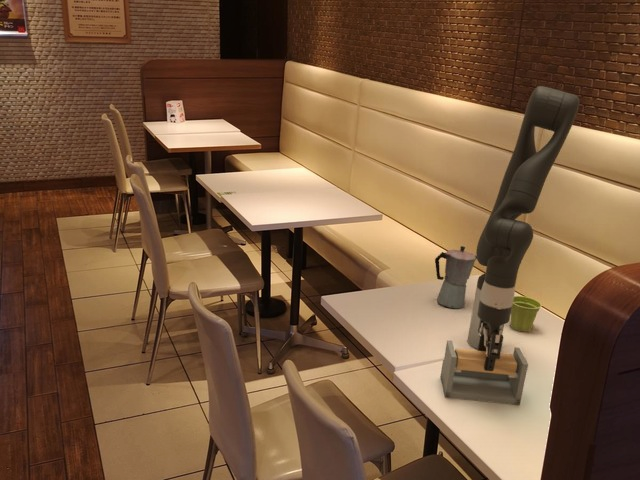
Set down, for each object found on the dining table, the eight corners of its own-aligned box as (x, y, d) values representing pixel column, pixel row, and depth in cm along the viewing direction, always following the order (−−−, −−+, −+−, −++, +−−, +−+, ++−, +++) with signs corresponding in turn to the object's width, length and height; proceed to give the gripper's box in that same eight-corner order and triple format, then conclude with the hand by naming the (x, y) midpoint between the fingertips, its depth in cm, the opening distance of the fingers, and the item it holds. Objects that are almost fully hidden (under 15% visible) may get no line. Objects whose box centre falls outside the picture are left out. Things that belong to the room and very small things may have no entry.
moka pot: (477, 308, 207) (488, 250, 201) (437, 312, 201) (446, 252, 195) (461, 296, 215) (470, 240, 209) (422, 299, 210) (430, 242, 203)
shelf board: (453, 359, 158) (455, 348, 157) (510, 365, 157) (512, 354, 156) (456, 369, 153) (458, 358, 152) (515, 375, 152) (517, 364, 151)
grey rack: (440, 377, 163) (446, 338, 159) (510, 384, 162) (518, 345, 159) (445, 397, 154) (451, 356, 150) (519, 404, 153) (528, 364, 150)
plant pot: (512, 318, 202) (516, 293, 199) (540, 328, 196) (546, 302, 194) (499, 327, 195) (504, 301, 192) (529, 337, 189) (534, 311, 186)
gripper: (475, 287, 156) (464, 346, 161) (486, 311, 143) (474, 374, 148) (505, 290, 156) (494, 349, 161) (519, 314, 142) (506, 378, 148)
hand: (485, 361), depth 154 cm, fingers open, 8 cm apart
